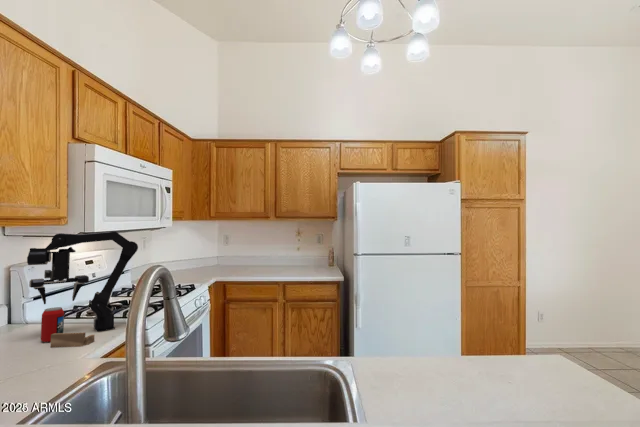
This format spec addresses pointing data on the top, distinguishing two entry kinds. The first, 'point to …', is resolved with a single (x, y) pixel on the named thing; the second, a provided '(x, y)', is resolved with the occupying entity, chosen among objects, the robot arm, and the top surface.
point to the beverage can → (52, 323)
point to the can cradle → (70, 339)
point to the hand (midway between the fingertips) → (59, 302)
